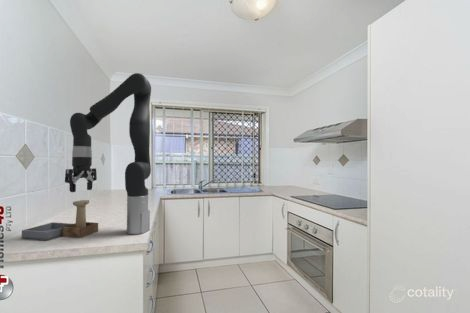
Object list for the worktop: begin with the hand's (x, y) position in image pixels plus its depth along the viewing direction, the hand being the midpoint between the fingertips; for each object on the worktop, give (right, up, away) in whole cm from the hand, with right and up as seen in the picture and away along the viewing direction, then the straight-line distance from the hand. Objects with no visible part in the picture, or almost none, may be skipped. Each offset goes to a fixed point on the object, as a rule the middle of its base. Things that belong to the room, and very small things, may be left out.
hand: (81, 191), depth 101 cm
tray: (-13, -20, -2) cm, 24 cm away
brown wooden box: (0, -20, -1) cm, 20 cm away
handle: (0, -20, -1) cm, 20 cm away
